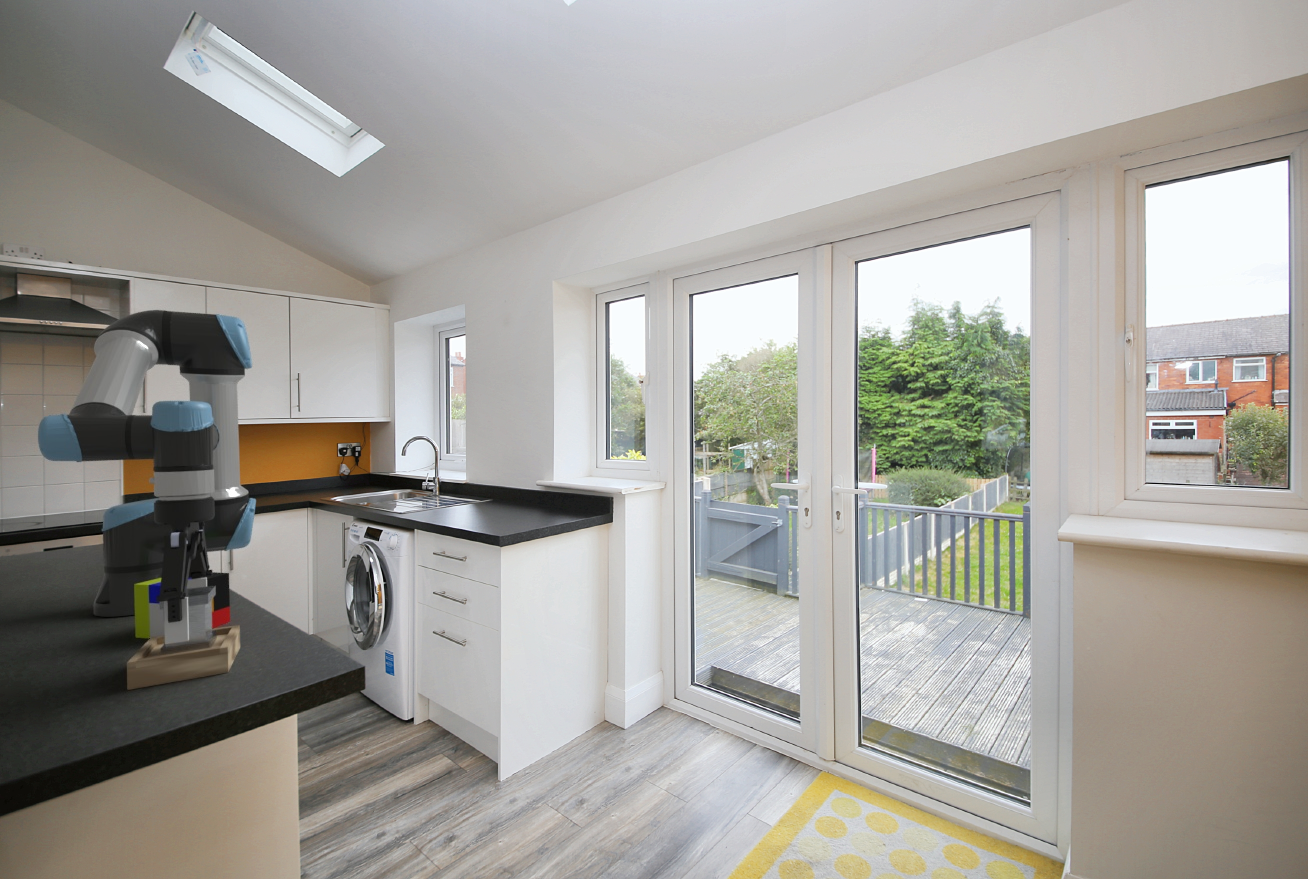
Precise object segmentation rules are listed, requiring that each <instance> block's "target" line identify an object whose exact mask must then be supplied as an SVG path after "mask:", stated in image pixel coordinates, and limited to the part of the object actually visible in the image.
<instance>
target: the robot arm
mask: <svg viewBox="0 0 1308 879" xmlns="http://www.w3.org/2000/svg"><path fill="white" fill-rule="evenodd" d="M93 351H94V354H95V356H96V357H95V358H94V360H93V363H92V365H91V367H90V370H89V371H88V374H87V375H86V378H85V379H84V382H83V383H82V385H81V388H80V390H79V393H78V395H77V396H76V398H75V401H74V403H73V405H72V407H71V409H70V411H69V413H68V414H66V413H60V414H49V415H47V416H44V417H43V418H42V419H41V420H40V422H39V425H38V429H37V441H38V442H37V443H38V448H39V452H40V453H41V455H42V456H43V457H44V458H45V459H46V460H48V461H50V462H76V463H82V462H101V461H102V462H104V461H105V462H106V461H127V460H128V461H130V460H153V467H152V469H153V477H150V478H149V480H148V483H150V484H153V493H154V494H153V496H154V497H156V498H150V499H143V500H139V501H133V502H126V503H122V504H118V505H113V506H111V507H109V508H107V509H106V510H105V511H104V513H103V517H102V522H103V523H102V528H101V532H102V541H103V542H102V544H103V546H102V547H103V574H104V575H103V578H102V581H101V583H100V586H99V588H98V592H97V593H96V597H95V599H94V601H93V615H94V616H95V617H96V616H97V617H101V618H102V617H103V618H105V617H108V618H109V617H111V618H112V617H113V618H115V617H125V616H135V598H134V584H137V583H142V582H146V581H150V580H154V579H158V578H161V586H160V594H159V596H157V597H156V601H157V602H162V601H164V626H165V644H170V643H177V642H184V641H188V640H189V614H188V597H186V590H187V589H190V588H199V587H207V577H205V576H212V572H213V569H210V564H209V557H208V556H209V555H208V553H211V552H222V551H224V552H227V551H230V550H231V551H232V550H237V549H243V548H246V547H247V546H249V544H250V543H251V541H252V533H253V527H254V526H253V525H254V518H255V513H256V505H257V499H256V498H253V497H249V490H248V489H246V488H245V487H244V486H242V485H241V470H240V469H241V466H240V465H241V464H240V438H239V437H240V436H239V434H240V433H239V407H238V406H239V404H238V403H239V402H238V400H239V398H238V383H239V382H240V381H241V380H242V379H244V378H245V376H246V370H248V369H252V367H253V361H252V354H251V353H252V352H251V348H250V342H249V337H248V333H247V328H246V325H245V323H244V322H243V320H242V319H241V318H239V317H237V316H236V317H235V316H231V315H226V314H225V315H223V314H219V313H216V314H214V313H213V314H212V313H200V312H185V311H184V312H183V311H171V310H164V309H151V310H143V311H138V312H135V313H132V314H128V315H126V316H124V317H121V318H119V319H117V320H116V321H114V322H112V323H111V324H109V325H107V326H106V327H105V328H104V329H103V330H102V331H101V332H100V333H99V335H98V336H97V338H96V341H95V342H94V347H93ZM155 365H158V366H159V365H160V366H161V365H163V366H166V365H167V366H179V375H180V376H181V377H183V378H184V379H185V380H186V381H187V382H188V387H189V388H188V390H189V391H188V392H189V400H160V401H156V402H155V403H154V404H153V405H152V411H151V415H150V414H149V415H148V414H147V415H144V414H142V415H137V414H133V413H134V410H135V408H136V404H137V401H138V399H139V395H140V392H141V389H142V387H143V383H144V381H145V377H146V375H147V372H149V370H151V369H152V368H153V367H154V366H155ZM204 577H205V578H204ZM188 578H192V579H188Z"/></svg>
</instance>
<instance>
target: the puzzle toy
mask: <svg viewBox="0 0 1308 879" xmlns="http://www.w3.org/2000/svg"><path fill="white" fill-rule="evenodd" d="M205 577H207V587H208V586H216V595H215V596H214V597H213V598H212V628H215V627H216V628H219V627H221V626H220V625H222V626H224V625H223V624H225V625H227V624H226V623H228V622H230V623H231V606H230V604H231V603H230V602H231V601H230V596H231V594H230V572H213V571H212V576H205ZM205 577H204V578H205ZM188 579H192V578H188ZM160 586H161V578H158V579H154V580H150V581H146V582H142V583H137V584H134V598H135V615H134V627H135V630H134V631H135V637H134V638H137V639H138V638H139V639H149V638H151V637H157V636H164V635H165V626H164V609H162V610H160V606H159V602H157V601H156V597H157V596H159V594H160ZM228 624H229V623H228ZM218 626H219V627H218Z"/></svg>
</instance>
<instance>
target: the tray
mask: <svg viewBox="0 0 1308 879" xmlns="http://www.w3.org/2000/svg"><path fill="white" fill-rule="evenodd" d="M212 630H217V639H216V641H215V642H214V644H213V645H212V647H211V648H207V649H200V650H194V651H187V652H181V653H175V654H168V655H162V656H161V647H162V646H163V645H164V644H165V635H164V636H157V637H151V638H150V639H149V638H148V640H147V641H146V642H145V643H144V644H143V645H142V646H141V647H140V648H139V649H138V650H137V651H136V652H135V654H134V655H132V657H131V658H130V659H128V661H127V662H126V680H127V681H126V684H127V685H126V687H127V690H128V691H129V690H134V689H141V688H147V687H151V686H152V687H153V686H158V685H163V684H169V683H175V682H181V681H182V682H183V681H187V680H192V679H198V678H203V677H210V676H215V675H222V674H228V673H229V671H230V669H231V668H232V665H233V663H234V661H235V660H236V657H237V655H238V654H239V651H240V649H241V624H237V625H231V626H220V627H216V628H214V629H212Z"/></svg>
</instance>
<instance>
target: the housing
mask: <svg viewBox="0 0 1308 879" xmlns="http://www.w3.org/2000/svg"><path fill="white" fill-rule="evenodd" d="M215 595H216V586H208V587H199V588H190V589H187V590H186V597H188V614H189V640H188V641H184V642H177V643H170V644H164V645H163V646H162V647H161V656H162V655H168V654H175V653H181V652H187V651H194V650H200V649H207V648H211V647H212V645H213V644H214V642H215V641H216V639H217V630H212V598H213V597H214V596H215ZM159 606H160V610H162V609H164V601H162V602H159Z"/></svg>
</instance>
